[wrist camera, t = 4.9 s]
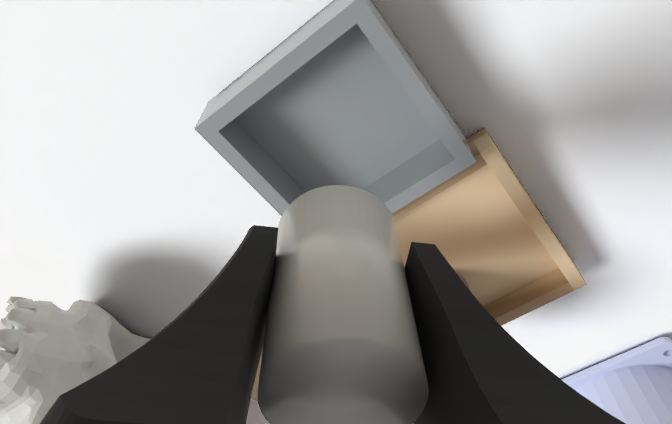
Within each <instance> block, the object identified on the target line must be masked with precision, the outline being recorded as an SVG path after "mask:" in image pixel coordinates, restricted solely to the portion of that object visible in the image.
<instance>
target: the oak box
mask: <svg viewBox="0 0 672 424" xmlns="http://www.w3.org/2000/svg"><path fill="white" fill-rule="evenodd" d="M466 140H467V142H468V144H469V146H470V148H471V150H472V153H473V155H474V157H475V159H476V161H477V162H476V163H474V164H472V165H471V166H469V167H467V168H466V169H464V170H463V171H461V172H459V173H458V174H456V175H454V176H453V177H451V178H449V179H448V180H446V181H445V182H443V183H441V184H440V185H438V186H436V187H435V188H433V189H431V190H430V191H428V192H427V193H425V194H423V195H422V196H420V197H418V198H417V199H415V200H413V201H412V202H410V203H409V204H407V205H405V206H404V207H402V208H400V209H399V210H397V211H396V212H394V213H392V216H393V218H394V221H395V224H396V229H397V234H398V239H399V244H400V249H401V254H402V259H403V264H404V268H405V264H406V261H407V257H408V253H409V249H410V245H411V242H418V243H428V244H435V245H436V247H437V248H438V249H439V251H440V252H441V253H442V255H443V256H444V257H445V259H446V260H447V261H448V263H449V264H450V265H451V267H452V268H453V269H454V271H455V272H456V273H457V274H459V275H461V276H462V277H463V278H464V279H465V280H466V282H467V283H468V285H469V288H470V291H471V293H472V294H473V295H474V296H475V297H476V299H477V300H478V301H479V302H480V303H481V305H482V306H483V307H484V308H485V309H486V310H487V311H488V313H489V314H490V315H491V316H492V317H493V318H494V319H495V320H496V321H497V322H498V323H499V325H500V326H501V325H503V324H506V323H508V322H510V321H512V320H514V319H516V318H518V317H520V316H522V315H524V314H526V313H528V312H530V311H532V310H534V309H536V308H539V307H541V306H543V305H545V304H547V303H549V302H551V301H553V300H555V299H557V298H559V297H561V296H563V295H565V294H567V293H570V292H572V291H574V290H576V289H578V288H580V287H582V286H584V285H586V283H585V281H584V279H583V278H582V276H581V274H580V273H579V271H578V269H577V267H576V266H575V264H574V262H573V261H572V259H571V258H570V256H569V255H568V253H567V252H566V250H565V249H564V247H563V246H562V244H561V243H560V241H559V240H558V238H557V237H556V235H555V234H554V232H553V231H552V229H551V228H550V226H549V225H548V223H547V222H546V220H545V219H544V217H543V216H542V214H541V213H540V211H539V210H538V208H537V207H536V205H535V204H534V202H533V201H532V199H531V198H530V196H529V195H528V193H527V192H526V190H525V189H524V187H523V186H522V184H521V183H520V181H519V180H518V178H517V177H516V175H515V174H514V172H513V171H512V169H511V168H510V166H509V165H508V163H507V162H506V160H505V159H504V157H503V156H502V154H501V153H500V151H499V150H498V148H497V147H496V145H495V144H494V142H493V141H492V139H491V138H490V136H489V134H488V133H487V131H486V130H485V128H482V129H481V130H479V131H478V132H476V133H474V134H473V135H471V136H470V137H468V138H467V139H466Z"/></svg>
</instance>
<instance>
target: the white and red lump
mask: <svg viewBox="0 0 672 424" xmlns="http://www.w3.org/2000/svg"><path fill="white" fill-rule="evenodd" d="M7 303H10V305H8V306H7V308H6V311H7V312H8V314H7V316H6V318H4V319H1V321H0V424H40V423H41V421H42V420H43V418H44V417H45V415H46V414H47V412H48V411H49V409H50V408H51V407H52V405H53V404H54V403H55V401H56V400H57V398H58V397H59V396H60V395H62V394H63V393H65V392H67V391H69V390H71V389H73V388H75V387H77V386H79V385H80V384H82V383H84V382H86V381H88V380H89V379H91V378H93V377H95V376H97V375H98V374H100V373H102V372H103V371H105V370H107V369H108V368H110V367H111V366H113V365H114V364H116V363H117V362H119V361H120V360H122V359H123V358H125V357H126V356H128V355H129V354H131V353H132V352H134V351H135V350H137V349H138V348H140V347H141V346H142V345H144V344H145V343H146V342H148V341H149V340H150V339H148V338H144V337H141V336H138V335H135V334H132V333H131V332H130V331H128V330H127V329H126V328H125V327H123V326H122V325H121V324H120V323H119V322H118V321H117V320H116V319H115V318H114V317H113V316H112V315H111V314H109V313H108V312H106V311H105V310H104V309H102V308H101V307H99V306H98V305H97V304H95V303H93V302H88V301H83V300H79V301H76V302H74V303H73V305H72V306H71V307H70V309H69V310H68V311H64V310H62V309H60V308H58V307H57V306H56V305H55V304H53V303H52V302H48V301H33V300H31V299H27V298H22V297H10V299H9V300H8V302H7Z"/></svg>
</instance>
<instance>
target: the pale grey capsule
mask: <svg viewBox="0 0 672 424" xmlns="http://www.w3.org/2000/svg"><path fill="white" fill-rule="evenodd" d="M428 393H429V389H428V382H427V377H426V372H425V367H424V362H423V357H422V352H421V347H420V342H419V337H418V333H417V328H416V323H415V318H414V313H413V308H412V303H411V298H410V293H409V288H408V283H407V278H406V274H405V269H404V264H403V259H402V254H401V249H400V244H399V239H398V234H397V229H396V224H395V221H394V218H393V216H392V214H391V212H390V210H389V209H388V207H387V206H386V205H385V204H384V203H383V202H382V201H381V200H380V199H379V198H378V197H376V196H375V195H373V194H371V193H370V192H367V191H365V190H363V189H360V188H357V187H353V186H347V185H329V186H323V187H319V188H315V189H313V190H310V191H308V192H306V193H304V194H302V195H301V196H299V197H298V198H297V199H295V200H294V201H293V202H292V203H291V204H290V205H289V206H288V207H287V209H286V210H285V211H284V213H283V215H282V217H281V219H280V222H279V226H278V237H277V249H276V259H275V266H274V273H273V280H272V286H271V291H270V297H269V304H268V312H267V320H266V328H265V336H264V344H263V352H262V360H261V368H260V376H259V383H258V396H257V398H258V403H259V407H260V409H261V412H262V413H263V415H264V417H265V418H266V419H267V420H268V422H269V423H270V424H413V423H414V422H415V421H416V420H417V419H418V417H419V416H420V415H421V413H422V412H423V410H424V408H425V406H426V403H427V400H428Z"/></svg>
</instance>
